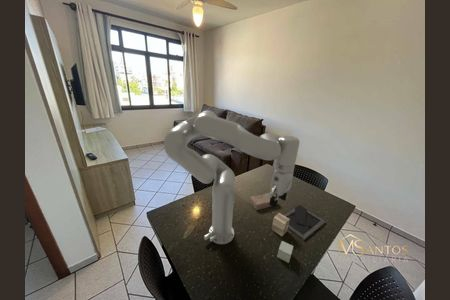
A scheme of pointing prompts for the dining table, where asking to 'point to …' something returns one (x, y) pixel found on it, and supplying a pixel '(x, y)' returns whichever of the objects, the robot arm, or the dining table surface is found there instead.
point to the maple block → (280, 224)
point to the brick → (260, 201)
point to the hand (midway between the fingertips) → (277, 202)
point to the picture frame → (303, 222)
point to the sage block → (285, 251)
